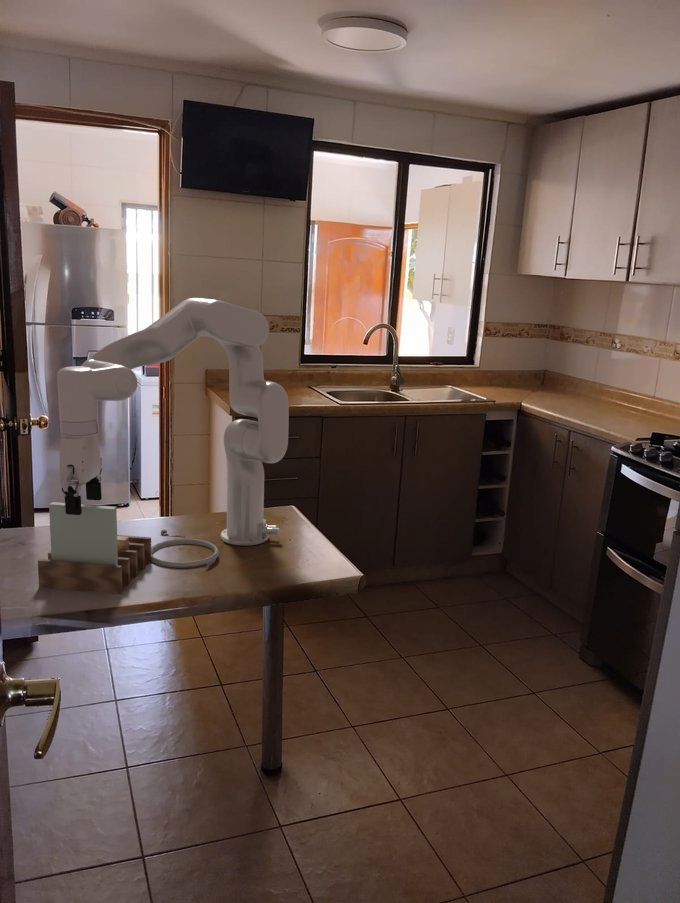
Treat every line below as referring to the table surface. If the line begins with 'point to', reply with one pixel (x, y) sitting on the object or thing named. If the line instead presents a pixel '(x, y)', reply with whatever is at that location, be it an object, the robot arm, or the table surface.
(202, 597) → the table surface
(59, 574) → the rack
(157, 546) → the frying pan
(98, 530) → the tall sheet
